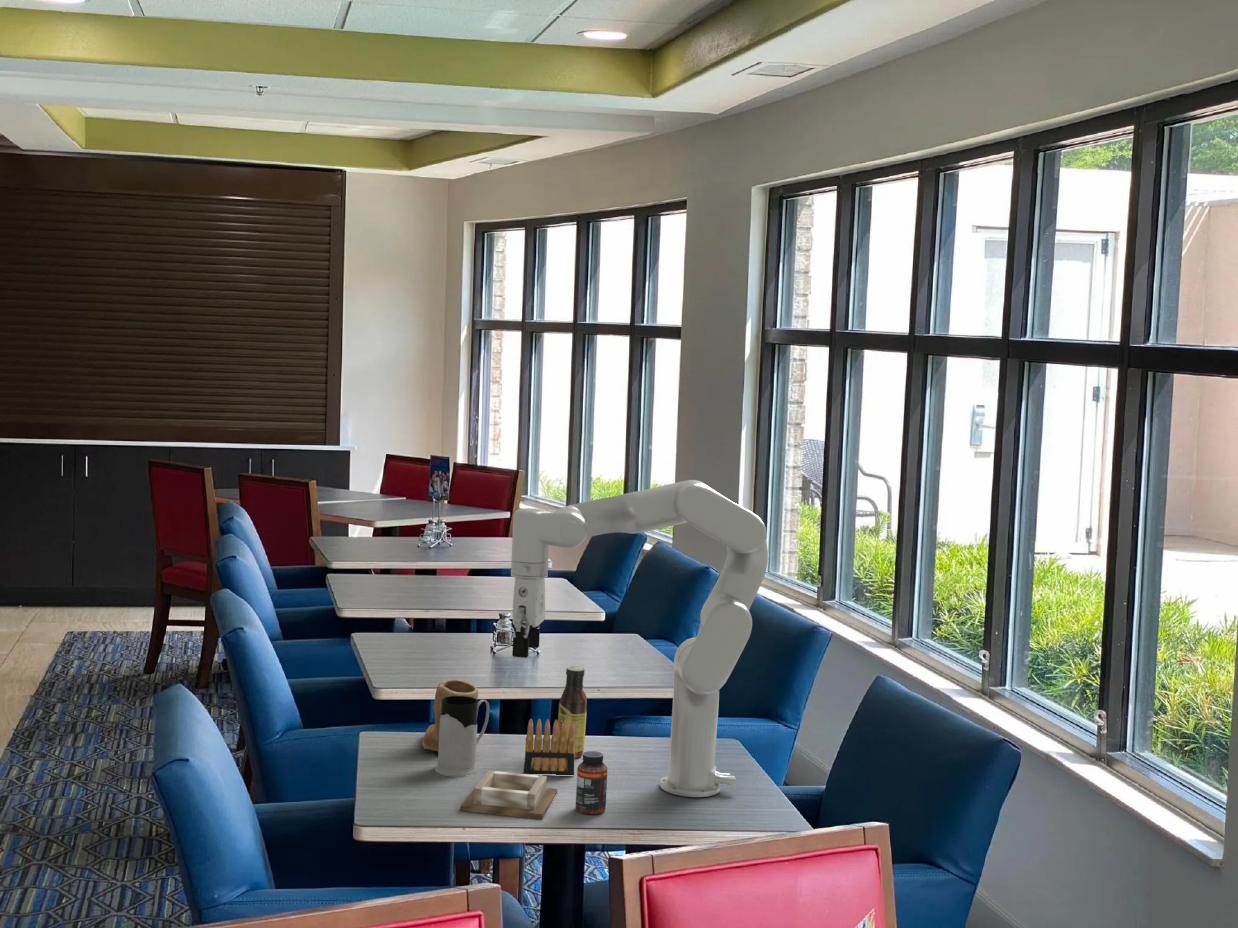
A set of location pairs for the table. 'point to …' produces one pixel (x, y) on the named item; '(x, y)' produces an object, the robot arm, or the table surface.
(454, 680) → the tan boot
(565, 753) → the ammunition clip
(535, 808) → the board
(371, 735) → the table surface
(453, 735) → the black and white mug
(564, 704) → the sauce bottle
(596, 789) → the supplement bottle
